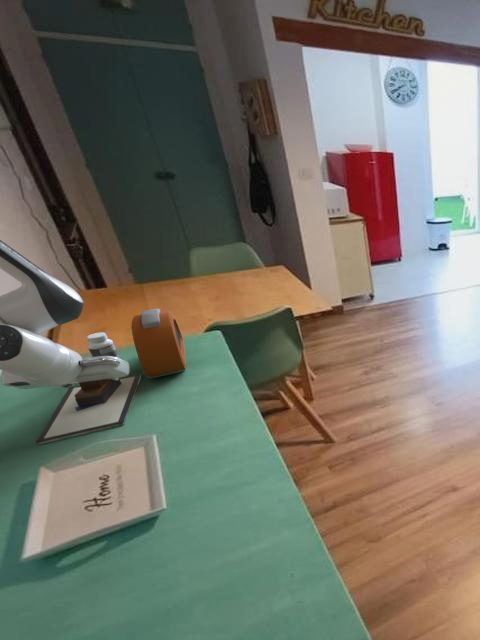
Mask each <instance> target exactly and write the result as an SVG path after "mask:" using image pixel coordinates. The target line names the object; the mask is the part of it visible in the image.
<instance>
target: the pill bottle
mask: <svg viewBox="0 0 480 640" xmlns="http://www.w3.org/2000/svg"><path fill="white" fill-rule="evenodd" d="M86 339H87V341H88V342H89V343H88V344H87V349H88V350H89V353H90V355H91V357H99V356H112V357H116V358H119V359H121V357H120V355H119V353H118V351H117V348H116V346H115V344H114V341H113V340H112V339H109V338H108V335H107V333H106V332H95V333H91V334H88V335H87V336H86Z"/></svg>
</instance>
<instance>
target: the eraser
mask: <svg viewBox="0 0 480 640" xmlns="http://www.w3.org/2000/svg"><path fill="white" fill-rule="evenodd" d="M79 385H80V387H81V389H80V390H79V391H78V392H77V393H76V394H75V398H76V399H75V400H76V402H77V404H78V406H79V407H82V406H89V405H96V404H102V403H106V401H107V400H108V399H109V398H110V397H111V395H112V394H113V393H114V392H115V391H116V389H117V388H118V387H119V386H120V385H121V381H120V379H119V380H116V381H109V380H108V379H103V380H95V381H87V382H80V383H78V386H79Z"/></svg>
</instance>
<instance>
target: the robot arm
mask: <svg viewBox="0 0 480 640" xmlns="http://www.w3.org/2000/svg"><path fill="white" fill-rule="evenodd" d="M0 269H1V270H2V271H3V272H5V273H6V274H8V275H9V276H10V277H12V278H14V279H15V280H16V281H18V282H20V284H21V286H19V287H18V288H16V289H14V290H11V291H9V292H6V293H3V294H2V295H0V370H1V385H2V386H5V387H11V388H14V389H15V388H16V389H19V390H33V389H40V388H48V387H61V388H69V387H73V386H72V385H73V384H79V383H80V382H87V381H95V380H103V379H108V380H109V381H116V380H119V378H122V377H127V376H129V374H130V362H128V361H127V360H124V359H121V358H120V357H119V358H120V359H119V358H116V357H112V356H99V357H92V356H91V357H82V356H81V355H80V353H78V352H77V351H75V350H74V349H71V348H69V347H66V346H64V345H62V344H60V343H57V342H54V341H52V340H51V339H49V338H48V337H46V336H44V335H41V334H43V333H45V332H47V331H49V330H52V329H54V328H56V327H58V326H62V325H65V324H67V323H70V322H73V321H76V320H78V319H79V318H80V317H81V315H82V312H83V310H84V306H85V301H84V300H83V298H82V297H81V295H80V294H79V293H78V292H77V291H76V290H75V289H74V288H72V287H71V286H69V285H68V284H66V283H65V282H63V281H61V280H59V279H58V278H56V277H54V276H53V275H51V274H49V273H48V272H47V271H45V270H44V269H42V267H41V268H40V267H39V266H38V265H36V264H35V263H33V262H32V261H31V260H29V259H28V258H27V257H25V256H24V255H23V254H21V253H20V252H19V251H16V250H15V249H14V248H12V247H11V246H10V245H8V244H7V243H6V242H4V241H2V240H1V239H0Z"/></svg>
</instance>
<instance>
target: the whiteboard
mask: <svg viewBox="0 0 480 640" xmlns="http://www.w3.org/2000/svg"><path fill="white" fill-rule="evenodd" d="M142 376H143V375H142V374H141V373H138V374H133V375H127V376H125V377H119V379H120V381H121V385H120V386H119V387H118V388H117V389H116V391H115V392H114V393H113V394H112V395H111V397H110V398H109V399H108V400H107V401H106V403H102V404H96V405H89V406H82V407H79V406H78V404H77V402H76V400H75V399H76V398H75V394H76V393H77V392H78V391H79V390H80V389H81V387H80V385H79V384H78V385H75V386H71V387H68V388H67V391H66V392H65V393H64V395H63V397H62V399H61V401H60V402H59V404H58V405H57V407H55V409H54V412H53V413H52V415H51V417H50V418H49V420H48V421H47V423H46V425H45V426H44V428H43V430H42V431H41V433H40V434H39V435H38V437H37V439H36V441H35V442H34V444H35V445H36V446H39V445H42V444H47V443H51V442H56V441H60V440H65V439H68V438H74V437H76V436H81V435H86V434H91V433H94V432H99V431H104V430H109V429H111V428H115V427H120V426H124V425H125V424H126V420H127V419H128V416H129V413H130V409H131V408H132V404H133V401H134V398H135V396H136V392H137V389H138V387H139V385H140V382H141V379H142Z"/></svg>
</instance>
